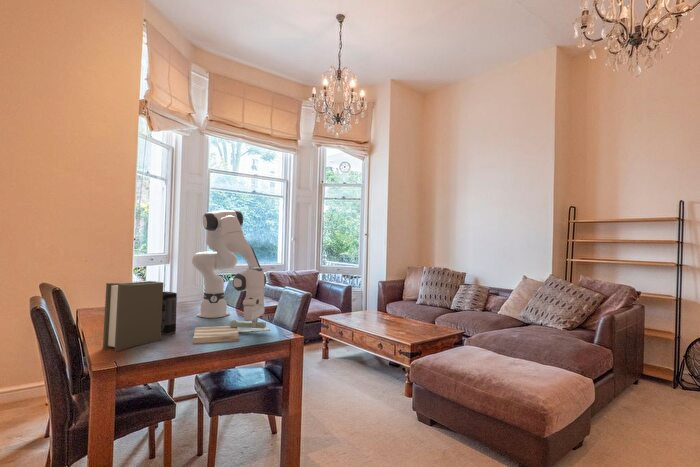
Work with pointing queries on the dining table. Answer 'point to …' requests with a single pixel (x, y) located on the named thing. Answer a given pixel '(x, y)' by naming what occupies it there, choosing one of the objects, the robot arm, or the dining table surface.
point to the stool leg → (247, 324)
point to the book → (132, 314)
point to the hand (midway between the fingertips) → (254, 326)
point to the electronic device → (168, 313)
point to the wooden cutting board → (220, 333)
